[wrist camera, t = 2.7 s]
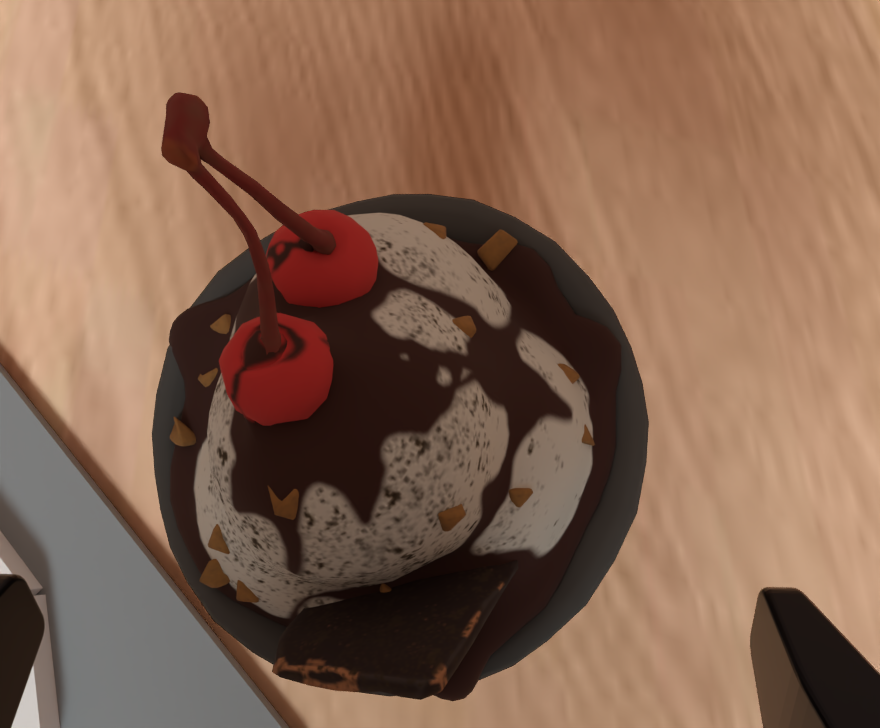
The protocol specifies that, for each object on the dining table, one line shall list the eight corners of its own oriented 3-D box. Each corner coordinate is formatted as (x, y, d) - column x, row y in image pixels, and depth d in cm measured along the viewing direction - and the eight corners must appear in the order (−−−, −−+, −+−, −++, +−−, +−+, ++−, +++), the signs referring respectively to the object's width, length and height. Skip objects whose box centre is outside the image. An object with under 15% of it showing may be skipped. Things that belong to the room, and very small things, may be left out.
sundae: (413, 309, 22) (158, -172, 7) (642, 436, 20) (902, 157, 6) (280, 527, 21) (-318, 483, 6) (509, 676, 19) (418, 1056, 5)
